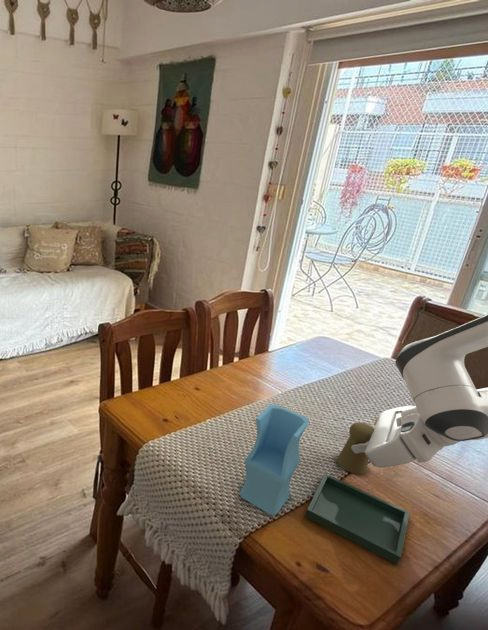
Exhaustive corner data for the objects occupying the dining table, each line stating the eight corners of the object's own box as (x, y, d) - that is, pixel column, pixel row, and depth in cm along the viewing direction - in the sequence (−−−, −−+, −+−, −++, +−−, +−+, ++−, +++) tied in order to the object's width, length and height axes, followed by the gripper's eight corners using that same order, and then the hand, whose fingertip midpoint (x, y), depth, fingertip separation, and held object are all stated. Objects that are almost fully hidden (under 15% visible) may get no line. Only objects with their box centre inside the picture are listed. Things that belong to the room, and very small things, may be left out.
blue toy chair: (237, 495, 93) (255, 418, 85) (253, 476, 98) (271, 402, 91) (274, 517, 88) (297, 437, 80) (289, 496, 93) (312, 419, 85)
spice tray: (406, 519, 89) (410, 512, 88) (397, 565, 79) (400, 557, 78) (322, 480, 98) (324, 473, 97) (304, 516, 89) (307, 509, 88)
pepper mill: (330, 458, 105) (343, 420, 100) (350, 453, 106) (363, 416, 102) (352, 476, 99) (367, 437, 95) (372, 471, 101) (387, 432, 97)
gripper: (418, 393, 99) (356, 411, 108) (407, 436, 84) (337, 452, 94) (436, 418, 98) (372, 434, 107) (427, 466, 84) (354, 479, 93)
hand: (355, 443), depth 101 cm, fingers closed on pepper mill, 4 cm apart
